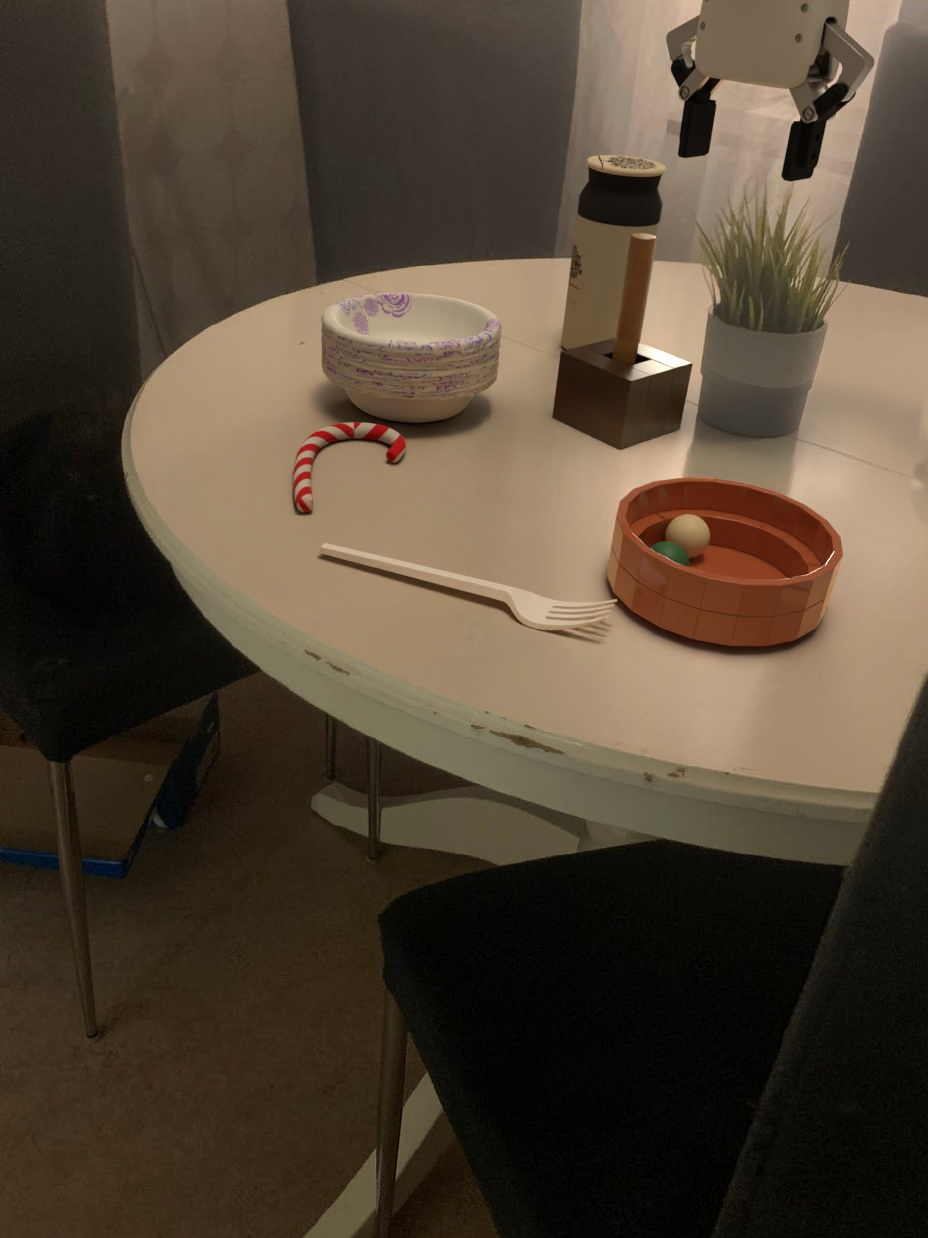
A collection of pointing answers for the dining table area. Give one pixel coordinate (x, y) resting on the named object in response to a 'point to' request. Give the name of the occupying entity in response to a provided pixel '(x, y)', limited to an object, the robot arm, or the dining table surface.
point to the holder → (621, 393)
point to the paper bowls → (410, 353)
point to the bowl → (725, 562)
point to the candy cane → (333, 434)
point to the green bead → (672, 552)
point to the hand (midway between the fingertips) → (742, 167)
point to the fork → (489, 592)
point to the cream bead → (689, 534)
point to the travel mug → (608, 242)
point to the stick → (633, 298)
